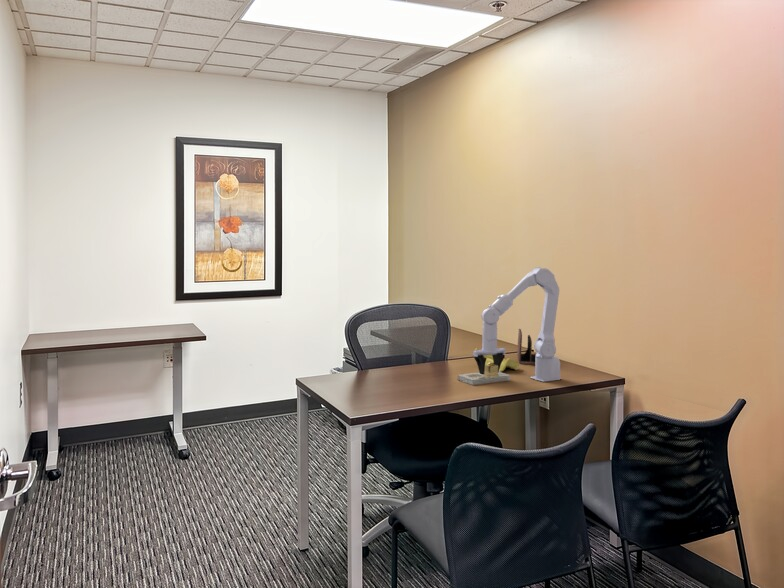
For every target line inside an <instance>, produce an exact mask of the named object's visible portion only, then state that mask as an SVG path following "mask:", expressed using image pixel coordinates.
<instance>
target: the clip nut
mask: <svg viewBox="0 0 784 588" xmlns="http://www.w3.org/2000/svg"><path fill="white" fill-rule="evenodd" d="M484 374H486V375H490V376H491V375H497V374H498V365H495V364H494V363H488V364H486V365H485V372H484Z"/></svg>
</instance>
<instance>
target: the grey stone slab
mask: <svg viewBox="0 0 784 588" xmlns="http://www.w3.org/2000/svg"><path fill="white" fill-rule="evenodd" d="M457 380H458V381H459V380H460V382H463V383H465V384H469V385H471V386H475V385H484V384H485V385H486V384H493V383H501V382H506V381H507V382H508V381H511V375H510V374H508V373H505V372H503V371H502V372H498V374H497V375H491V376H490V375H486V374H483V375H482V374H480V373H479V371H478V372H471V373H463V374H457Z"/></svg>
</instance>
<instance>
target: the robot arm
mask: <svg viewBox="0 0 784 588" xmlns="http://www.w3.org/2000/svg"><path fill="white" fill-rule="evenodd" d="M535 286H540V288H541V289H542V290H543V291H544V292H545V294H544V301H543V309H542V317H541V325H540V332H539V333H538V335H537V339H536V340H535V342H534V350H535V352H536V353H535V354H536V355H535V356H536V357H535V364H534V365H535V366H534V375H533V376H530V377H529V378H530V379H532V380H536V381H539V382H543V383H545V382H552V381H553V382H554V381H559V380H560V379H561V380H562V377H561V361H560V358H559V357H557V356H556V352H557V347H556V345H555V341H556V338H555V335H554V334H555V326H556V325H555V324H556V318H557V310H558V303H559V297H560V287H559V285H558V282H557V280H556V277H555V274H554V273H553V272H552V271H551V270H550V269H548V268H543V267H541V266H540V267H539V266H538V267H535V268H533V269H532V270H531V271H529V272H528V273H527V274H525V276H523V277H522V278H521V280H519V282H518V283H517V284H516V285H515V286H513V288H511V289H510V291H508V292H507V293H505V294H504V293H503V294H501V295H500V294H499V295H498V296H497V297H496V300H494V302H493V303H492V304H489V305H488V308H485V309H484V310H483V311H482V313H481V315H480V316H481V319H482V328H481V329H482V330H481V332H482V335H481V336H482V339H481V340H482V343H481V345H482V346H481V347H482V348H481V349H479V350H477V351H475V350H473V351H472V356H473V358H474V361H475V362H476V364H477V368H478V372H479V373H480V374H482V375H483V374H484V372H485V362H486V359H487V358H485V357H484V356H485V355H492V356H493V362H494V364H495V365H498V372H499V369H500V365H501V363H502V361H503V359H505V358H506V357H505V354H506V353H507V352H506V350H507V349H506V348H503V347H502V348H498V322H499V320H500V317H501V316H503V314H505V313H506V312H507V310H510V308H511V307H513V304H514V300H515V299H516V298H517V297H519V296H520V295H521V294H522V293H523V292H525V290H527V289H528V288H530V287H535Z"/></svg>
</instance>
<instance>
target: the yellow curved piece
mask: <svg viewBox="0 0 784 588" xmlns="http://www.w3.org/2000/svg"><path fill="white" fill-rule="evenodd" d="M477 350H480V349H479V348H476V347H475V349H474V351H477ZM484 357H485V358H487V359H486V362H485V365H486V364H488V363H494V362H493V356H492V355H485V356H484ZM519 365H520V364H519V361H515V360H513V359H512V358H510V357H508V358H507V359H505V358H504V359H503V361H502V363H501V365H500V369H499V372H502V373H503V372H504V371H505V370H506V369H510V370H513V369H514V371H516V370H518V368H519Z"/></svg>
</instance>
